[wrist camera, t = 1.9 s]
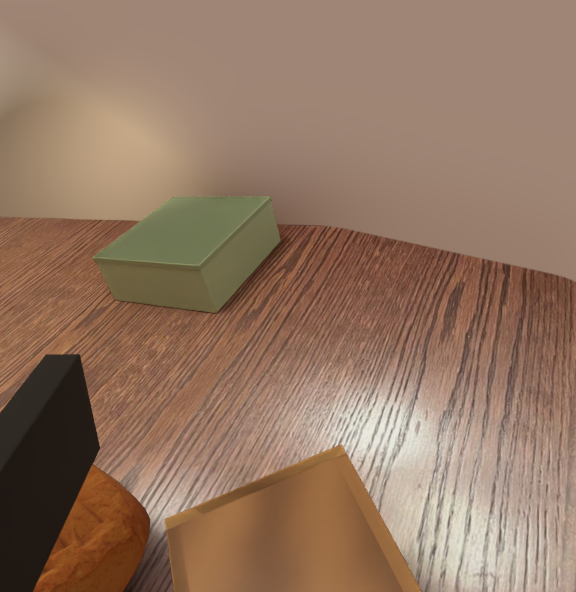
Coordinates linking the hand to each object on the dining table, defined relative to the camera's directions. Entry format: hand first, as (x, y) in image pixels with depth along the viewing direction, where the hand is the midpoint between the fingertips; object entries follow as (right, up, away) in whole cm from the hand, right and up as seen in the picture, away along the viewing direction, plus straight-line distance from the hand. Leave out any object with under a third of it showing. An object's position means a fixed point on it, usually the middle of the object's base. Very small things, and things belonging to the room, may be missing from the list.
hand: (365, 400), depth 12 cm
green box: (-12, +6, +50) cm, 52 cm away
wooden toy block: (0, -16, +14) cm, 21 cm away
